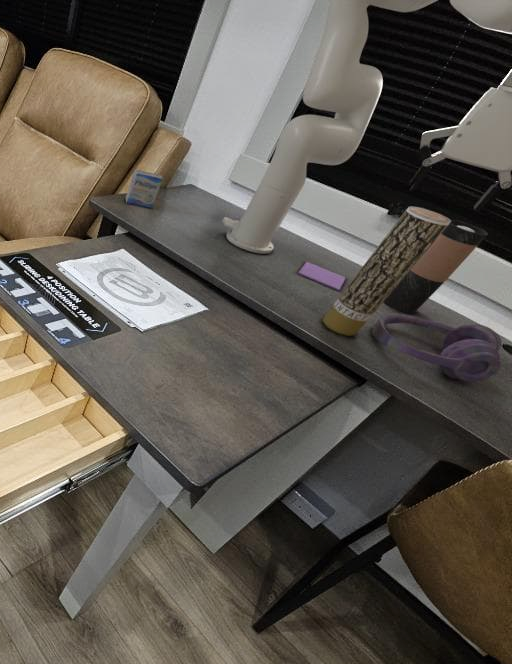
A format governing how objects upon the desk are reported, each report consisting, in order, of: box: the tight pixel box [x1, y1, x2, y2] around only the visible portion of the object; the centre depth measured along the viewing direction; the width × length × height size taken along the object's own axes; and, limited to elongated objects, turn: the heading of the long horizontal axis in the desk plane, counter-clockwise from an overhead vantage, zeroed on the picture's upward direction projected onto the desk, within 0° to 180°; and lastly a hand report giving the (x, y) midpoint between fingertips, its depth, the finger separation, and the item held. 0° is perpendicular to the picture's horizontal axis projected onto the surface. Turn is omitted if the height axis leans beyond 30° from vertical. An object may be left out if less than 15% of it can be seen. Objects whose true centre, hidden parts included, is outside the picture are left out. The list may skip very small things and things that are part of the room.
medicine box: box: [125, 169, 163, 209], centre depth 133 cm, size 8×4×9 cm, turn 80°
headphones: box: [371, 312, 502, 383], centre depth 92 cm, size 18×8×20 cm
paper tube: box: [322, 206, 452, 337], centre depth 89 cm, size 7×7×25 cm
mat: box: [297, 261, 346, 292], centre depth 117 cm, size 10×10×1 cm
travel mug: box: [384, 219, 488, 314], centre depth 104 cm, size 8×8×20 cm
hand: (443, 199), depth 78 cm, fingers open, 9 cm apart
